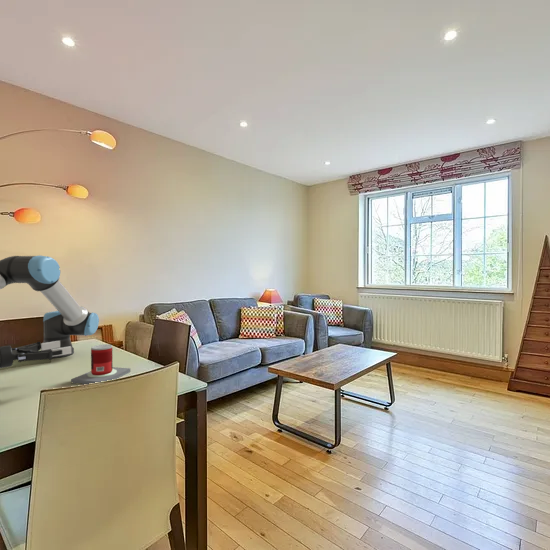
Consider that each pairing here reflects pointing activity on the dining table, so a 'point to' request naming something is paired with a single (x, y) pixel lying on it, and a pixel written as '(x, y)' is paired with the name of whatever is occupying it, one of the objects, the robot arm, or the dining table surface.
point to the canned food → (101, 359)
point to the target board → (101, 376)
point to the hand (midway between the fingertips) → (65, 346)
